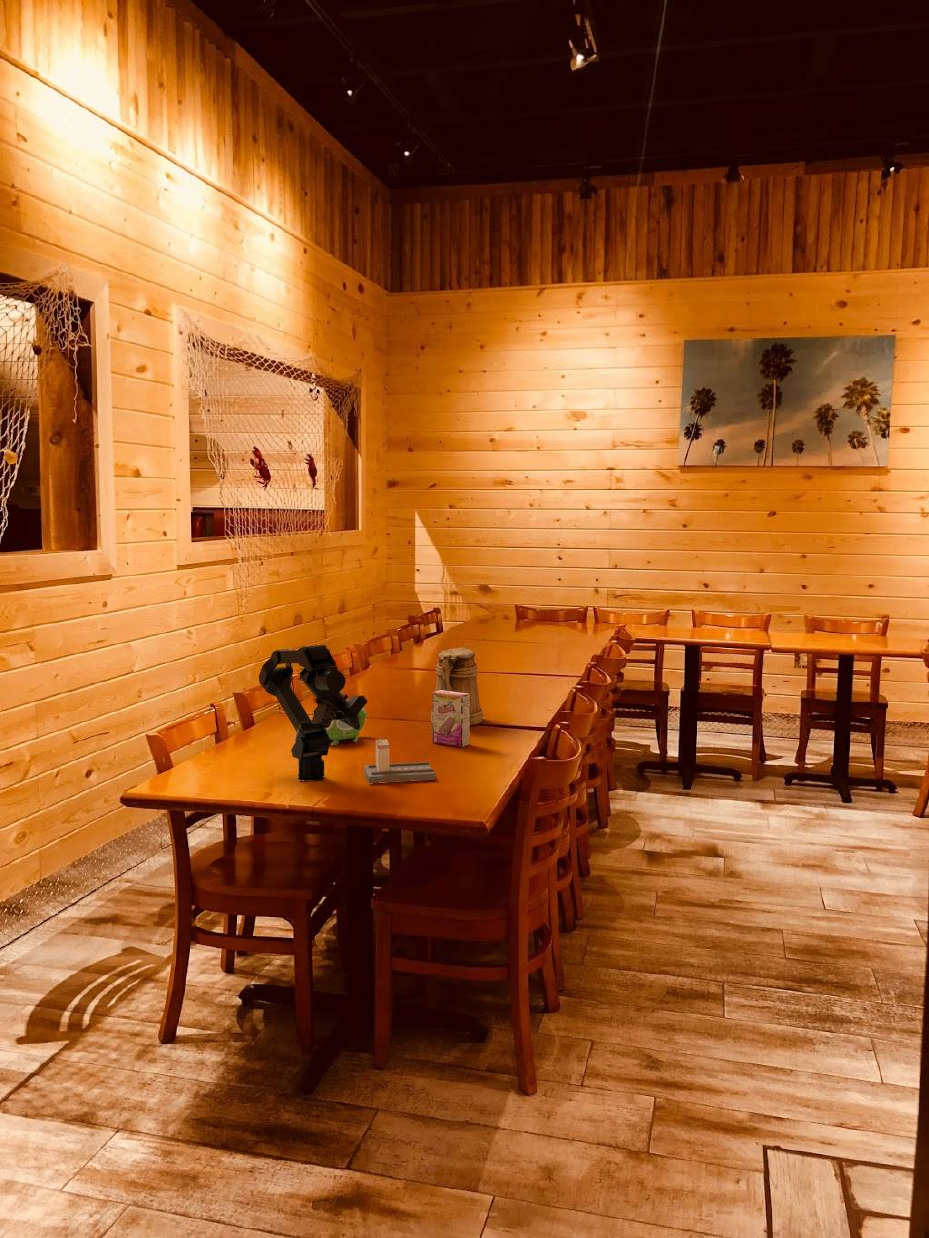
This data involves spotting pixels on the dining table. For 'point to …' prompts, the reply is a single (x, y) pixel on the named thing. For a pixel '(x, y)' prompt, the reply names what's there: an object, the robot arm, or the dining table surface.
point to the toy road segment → (400, 772)
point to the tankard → (460, 678)
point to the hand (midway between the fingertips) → (358, 728)
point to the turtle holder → (345, 729)
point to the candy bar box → (451, 718)
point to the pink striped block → (382, 755)
